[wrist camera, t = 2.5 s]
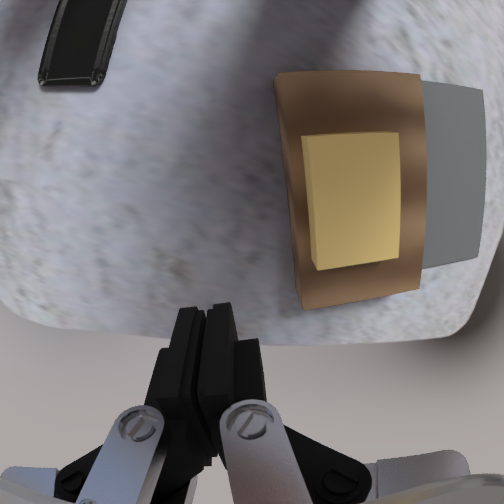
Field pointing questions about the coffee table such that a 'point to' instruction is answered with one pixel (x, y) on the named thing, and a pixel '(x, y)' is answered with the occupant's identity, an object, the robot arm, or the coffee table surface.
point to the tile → (353, 197)
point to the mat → (454, 172)
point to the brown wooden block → (345, 121)
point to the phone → (80, 42)
